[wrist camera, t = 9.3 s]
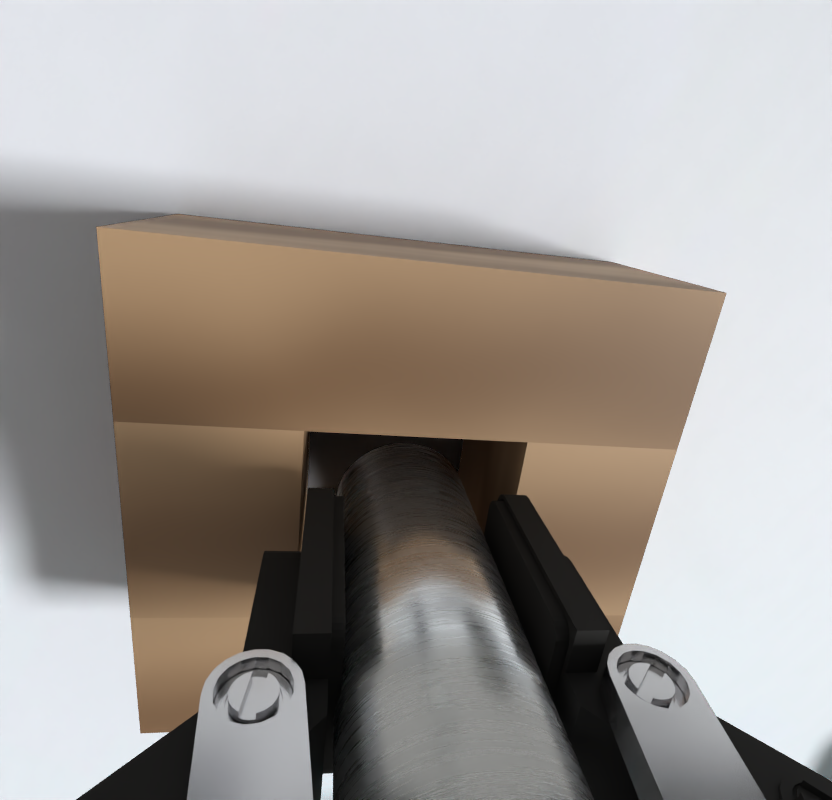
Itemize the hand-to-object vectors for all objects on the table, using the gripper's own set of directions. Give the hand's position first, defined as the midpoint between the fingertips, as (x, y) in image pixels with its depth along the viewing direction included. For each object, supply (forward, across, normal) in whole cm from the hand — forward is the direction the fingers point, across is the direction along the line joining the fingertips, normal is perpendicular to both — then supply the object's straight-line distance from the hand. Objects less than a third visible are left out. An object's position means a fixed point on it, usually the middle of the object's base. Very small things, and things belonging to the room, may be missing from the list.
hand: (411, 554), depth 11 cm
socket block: (+6, 0, 0) cm, 6 cm away
